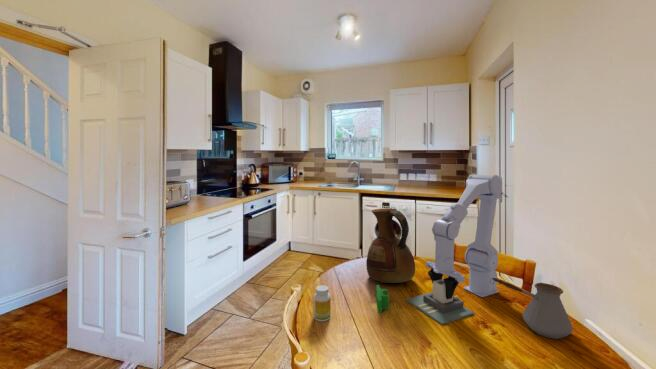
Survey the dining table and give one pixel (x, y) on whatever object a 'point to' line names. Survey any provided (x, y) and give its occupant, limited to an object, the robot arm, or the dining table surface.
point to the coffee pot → (545, 311)
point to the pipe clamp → (382, 298)
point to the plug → (440, 291)
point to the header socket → (440, 308)
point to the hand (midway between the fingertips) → (443, 294)
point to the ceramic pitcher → (390, 250)
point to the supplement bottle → (322, 303)
